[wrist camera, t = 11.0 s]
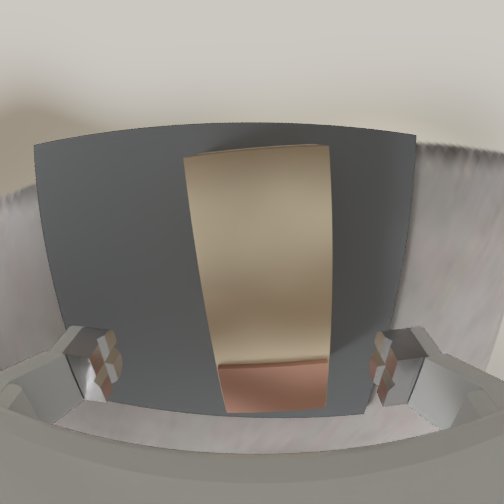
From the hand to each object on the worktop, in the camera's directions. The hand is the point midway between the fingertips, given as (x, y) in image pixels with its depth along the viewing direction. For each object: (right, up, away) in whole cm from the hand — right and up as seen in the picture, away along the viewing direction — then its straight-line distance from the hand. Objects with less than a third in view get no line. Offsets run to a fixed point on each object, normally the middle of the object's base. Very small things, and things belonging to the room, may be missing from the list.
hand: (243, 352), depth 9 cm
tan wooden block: (+1, +2, +7) cm, 7 cm away
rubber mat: (-2, 0, +8) cm, 8 cm away
